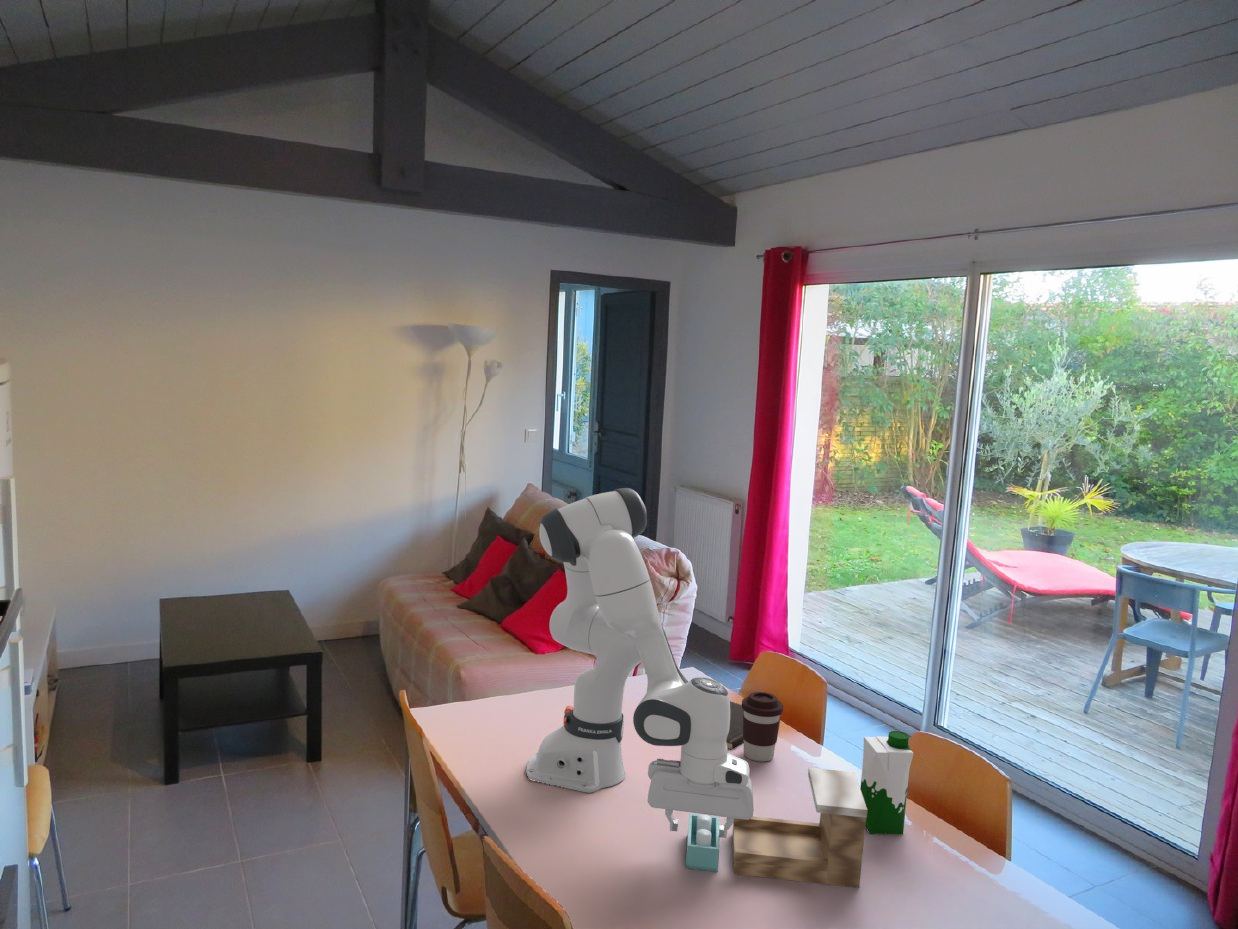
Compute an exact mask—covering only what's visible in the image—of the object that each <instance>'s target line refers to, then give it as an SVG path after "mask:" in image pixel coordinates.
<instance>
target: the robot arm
mask: <svg viewBox="0 0 1238 929" xmlns="http://www.w3.org/2000/svg"><path fill="white" fill-rule="evenodd" d="M647 515H648V514H647V508H646V506H645V504H644V502H643V500H642V498H641V496H640V495H639V493H638V492H637V491H636V490H634V489H632V488H630V487H629V488H628V487H624V488H623V487H622V488H616V489H614V490H613V491H607V492H601V493H598V494H592V495H589V496H586V497H584V498H582V499H579V500H577V501H574V502H571V503H569V504H567V505H564V506H562V507H560V508H554V509H552V510H550V511H548V512H545V514H544V515H542V516H541V519H540V521H539V530H538V531H539V532H538V533H539V534H538V536H539V541H540V544H541V546H542V547H543V550H544V551H545V552H546V553H547V555H548V557H549V558H551V559H552V560H555V561H557V562H558V563H562V564H563V567H564V573H565V578H566V580H565V581H566V586H567V591H566V593H567V594H566V597H565V599H564V600H563V601H562V602H560V603H559V604H557V606H556V607H555V608H554V609H553V611H552V613H551V615H550V617H549V618H550V619H549V632H550V634H551V637H552V639H553V640H554V641H556V642H557V643H559V644H561V645H563V646H564V647H566V648H568V649H570V650H574V651H578V652H581V653H584V654H590V655H594V656H595V657H596V663H595V667H591V668H589V669H586V670H585V671H582V672H581V673H580V674H579V675H578V676H577V678H576V680H575V681H574V687H573V688H574V689H573V706H572V705H567V706H566V707H565V709H564V715H563V725H562V726H561V727H559V728H557V729H556V730H554V731H553V732H551V733H548V734H547V735H546V736H545V737H544V738H543V740H541V743H540V745H539V748H538V751H537V752H536V753H535V754H534V755H532V756H531V757H530V758H529V759H528V761H527V765H526V769H525V774H526V773H527V776H528V778H529V779H532V780H535V781H539V782H542V783H541V784H544V783H546V784H545V785H549V784H550V785H549V786H554V785H557V786H556V787H559V786H561V787H560V788H563V787H564V789H570V790H575V791H579V792H583V793H589V794H590V793H594V792H596V791H598V790H600V789H604V788H607V787H608V788H609V787H612V786H615V785H617V784H620V783H621V782H622V781H623V780H624V779H625V778H626V770H625V769H626V768H625V765H624V759H623V752H622V751H623V750H622V748H623V747H622V741H623V738H624V725H625V723H624V722H625V721H624V713H623V703H624V693H625V686H626V682H627V679H628V678H629V675H630V674H631V673H632V671H633V670H634V668H636V666H638V665H639V664H642V665H643V668H644V671H645V674H646V678H647V686H646V692H645V694H644V696H643V697H642V698H641V700H640V702H638V705H637V706H636V707H635V710H634V713H633V717H632V720H633V721H632V723H633V727H634V730H635V732H636V733H637V735H638V737H640V739H641V740H642V741H644V742H645V743H647V744H649V745H652V746H655V747H658V746H659V747H680V746H681V748H680V759H679V760H673V759H671V760H670V759H664V758H656V760H653V761H651V762H650V763H649V765H648V769H647V775H648V778H649V779H650V784H649V788H648V789H649V790H648V794H647V804H648V805H649V806H650V807H651V808H653V809H654V808H655V809H661V810H664V811H665V812H664V815H665V817H666V818H667V820H668V822H669V831H670V832H678V829H679V818H675V817H674V815H673V813H674V811H677V812H678V811H679V812H684V813H690V814H698V815H708V816H716V817H723V818H726V822H725V823H724V824H719V838H722V839H727V837H728V830H729V829H731V827H733V823H734V818H737V819H744V820H749V819H750V818H751V817H752V816H754V789H753V782H752V780H751V778H750V765H749V763H748V762H747V761H746V760H745V759H742V758H740V757H737V756H735V755H733V754H731V753H728V752H729V751H728V749H729V748H728V747H727V743H726V740H727V735H728V733H729V728H730V701H731V699H730V695H729V692H728V689H726V687H725V686H724V685H723V684H721V683H720V682H718V681H716V680H713V679H712V678H708V677H694V678H691V679H690V680H689V681H688V679H686V677H685V675H683V673H682V672H681V671H680V669H679V667H678V665H677V663H676V660H675V656H674V655H673V654H674V653H673V652H672V649H671V646H670V643H669V641H668V638H667V635H666V631H665V629H664V627H663V624H662V621H661V617H660V613H659V608H658V605H657V600H656V596H655V592H654V588H653V587H654V586H653V584H652V581H651V577H650V575H649V571H648V569H647V565H646V564H645V561H644V557H643V556H642V553H641V551H640V549H639V547H638V545H637V543H636V541H635V540H634V539H635V538H636V537H638V536H640V535H641V534H643V533H644V532H645V530H646V527H647V525H648V516H647ZM527 776H526V777H527ZM528 778H527V779H528ZM529 779H528V780H529ZM539 782H538V783H539Z"/></svg>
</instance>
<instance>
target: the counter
mask: <svg viewBox="0 0 1238 929" xmlns="http://www.w3.org/2000/svg"><path fill="white" fill-rule="evenodd" d="M807 770H808V772H807V773H808V774H807V777H808V781H809V785H810V788H811V794H812V798H813V802H814V804H813V805H814V808H815V813H818V814H820V815H819V822H812V821H811V822H809V821H799V820H790V819H789V820H788V819H781V818H770V817H763V816H762V817H761V816H754V815H753V816H752V817H751V818H750V819H749V820H744V819H737V818H734V823H733V824H732V852H733V854H732V855H733V874H735V875H742V876H749V877H750V876H752V877H758V878H760V877H761V878H768V879H769V878H770V879H778V880H786V881H796V882H804V883H805V882H806V883H814V884H823V885H831V886H832V885H833V886H839V887H840V886H841V887H850V888H858V889H859V888H860V885H861V877H862V876H861V875H862V874H861V873H862V863H863V853H864V844H865V834H866V827H865V824H866V818H867V807H866V804H865V801H864V798H863V795H862V792H861V789H860V787H861V785H860V783H859V782H858V778H857V775H856V772H855V771H847V770H845V771H844V770H837V769H835V770H834V769H828V768H827V769H826V768H815V767H808V769H807Z"/></svg>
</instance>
